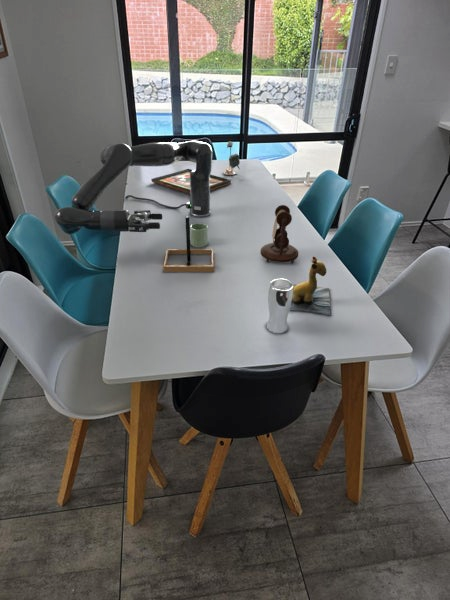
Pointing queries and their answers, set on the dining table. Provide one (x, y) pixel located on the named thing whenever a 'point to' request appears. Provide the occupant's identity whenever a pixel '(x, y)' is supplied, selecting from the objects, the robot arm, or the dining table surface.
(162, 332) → the dining table surface
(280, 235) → the scroll
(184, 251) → the oak tray
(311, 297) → the stuffed giraffe
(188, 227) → the black rectangular stick
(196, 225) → the pen cup
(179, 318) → the dining table surface
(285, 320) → the beer glass
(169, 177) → the religious icon
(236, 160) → the plant with pod
